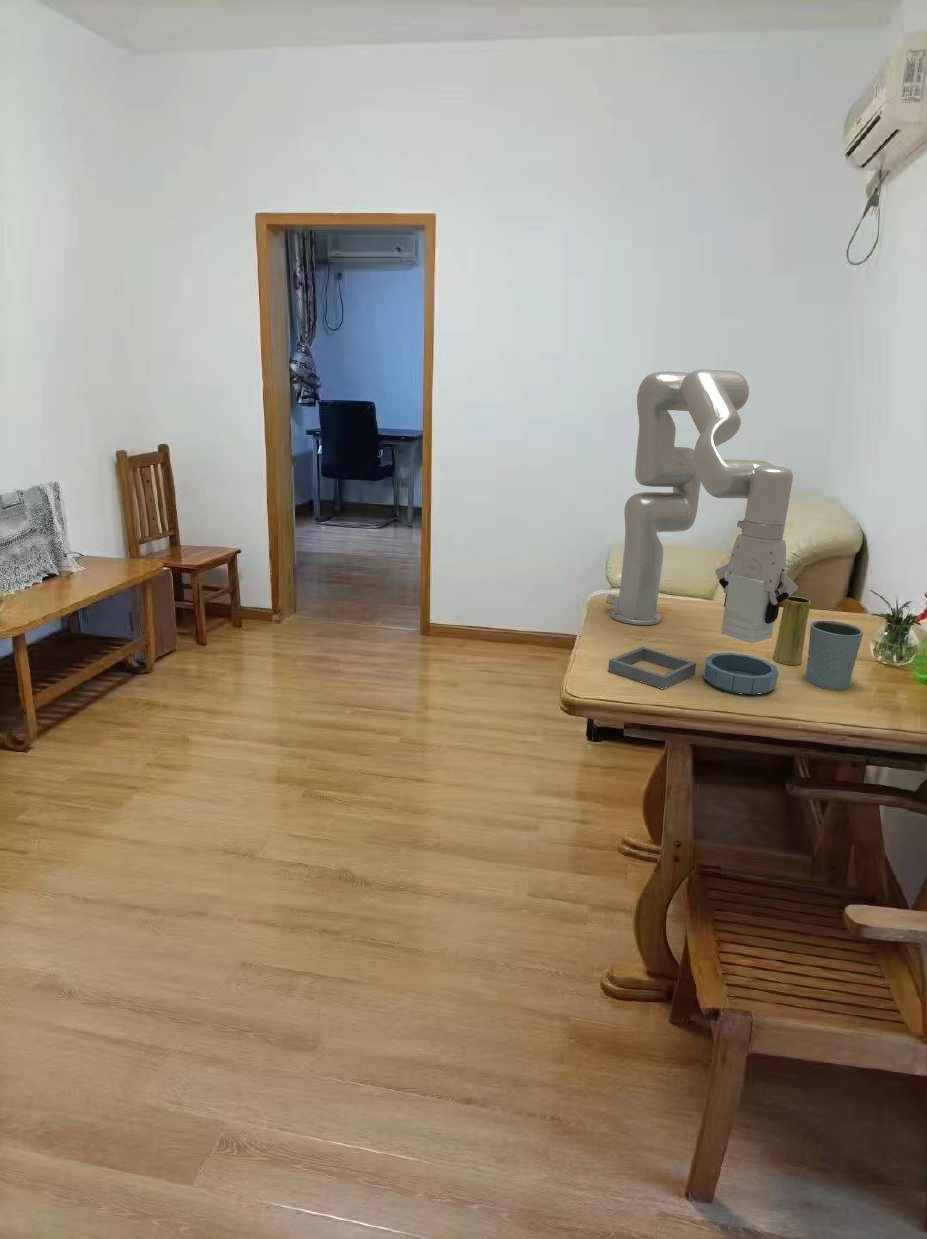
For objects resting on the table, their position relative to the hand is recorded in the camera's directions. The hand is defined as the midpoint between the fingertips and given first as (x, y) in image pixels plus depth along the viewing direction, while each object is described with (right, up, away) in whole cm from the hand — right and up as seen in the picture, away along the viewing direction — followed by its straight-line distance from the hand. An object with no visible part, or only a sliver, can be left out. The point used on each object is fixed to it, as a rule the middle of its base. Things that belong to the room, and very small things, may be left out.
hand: (749, 616), depth 171 cm
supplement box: (0, -4, +1) cm, 4 cm away
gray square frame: (-18, -12, +7) cm, 23 cm away
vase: (+15, -10, +19) cm, 26 cm away
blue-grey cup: (+19, -14, +8) cm, 25 cm away
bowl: (-1, -14, +4) cm, 14 cm away
